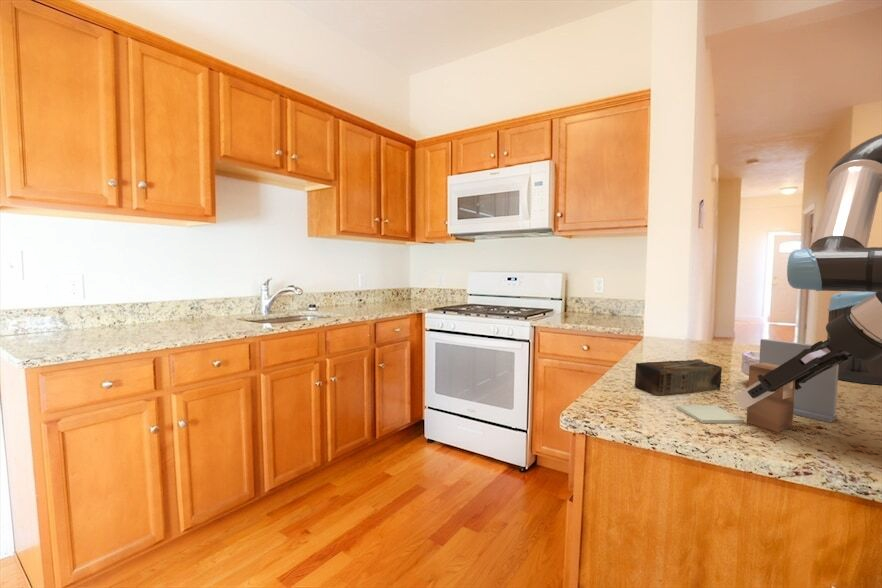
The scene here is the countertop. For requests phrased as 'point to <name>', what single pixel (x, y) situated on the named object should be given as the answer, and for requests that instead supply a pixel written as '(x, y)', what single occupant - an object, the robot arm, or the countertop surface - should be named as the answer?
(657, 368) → the beverage carton
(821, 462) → the countertop surface
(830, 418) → the slate panel
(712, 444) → the countertop surface
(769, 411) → the brown tall rectangular block
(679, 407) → the sage tile
